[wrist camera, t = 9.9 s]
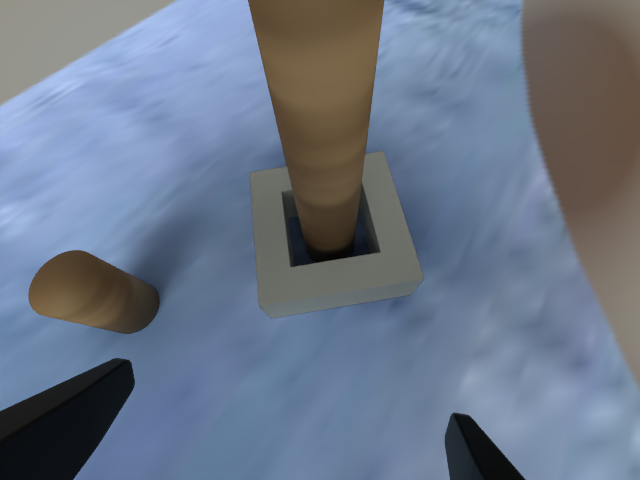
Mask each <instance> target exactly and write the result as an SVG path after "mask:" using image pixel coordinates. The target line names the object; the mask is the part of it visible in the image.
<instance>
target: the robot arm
mask: <svg viewBox="0 0 640 480" xmlns="http://www.w3.org/2000/svg"><path fill="white" fill-rule="evenodd" d="M134 385H135V379H134V374H133V368H132V363H131V362H130V360H126V359H120V358H115V359H112V360H110V361H108V362H106V363H103V364H101V365H99V366H97V367H95V368H93V369H90V370H88V371H86V372H84V373H82V374H80V375H77V376H75V377H73V378H71V379H69V380H67V381H65V382H62V383H60V384H58V385H56V386H54V387H52V388H49V389H47V390H45V391H43V392H41V393H39V394H36V395H34V396H32V397H30V398H28V399H26V400H23V401H21V402H19V403H17V404H15V405H13V406H10V407H8V408H6V409H4V410H2V411H0V480H73V479H74V478H75V476H76V475H77V474H78V472H79V471H80V470H81V468H82V467H83V466H84V464H85V463H86V461H87V460H88V459H89V457H90V456H91V455H92V453H93V452H94V450H95V449H96V448H97V446H98V445H99V443H100V442H101V440H102V439H103V437H104V436H105V434H106V432H107V431H108V429H109V428H110V426H111V424H112V423H113V421H114V420H115V418H116V416H117V415H118V413H119V411H120V410H121V408H122V407H123V405H124V403H125V402H126V400H127V399H128V397H129V395H130V394H131V392H132V390H133V388H134ZM445 448H446V455H447V462H448V468H449V475H450V480H525V478H524V477H523V476H522V475H521V474H520V473H519V472H518V470H517V469H516V468H515V467H514V466H513V465H512V463H511V462H510V461H509V460H508V459H507V458H506V457H505V455H504V454H503V453H502V452H501V451H500V450H499V449H498V447H497V446H496V445H495V444H494V443H493V442H492V441H491V439H490V438H489V437H488V436H487V435H486V434H485V432H484V431H483V430H482V429H481V428H480V427H479V426H478V424H477V423H476V422H475V421H474V420H473V419H472V418H471V417H470V416H469V415H466V414H460V413H452V415H451V416H450V420H449V423H448V427H447V430H446V434H445Z"/></svg>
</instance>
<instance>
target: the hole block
mask: <svg viewBox="0 0 640 480" xmlns="http://www.w3.org/2000/svg"><path fill="white" fill-rule="evenodd" d="M250 185H251V200H252V214H253V229H254V243H255V258H256V272H257V287H258V301H259V307H260V308H261V309H262V310H263V311H264V312H265V313H266V314H267V315H268V316H269V317H270V318H271V319H272V318H278V317H284V316H290V315H296V314H301V313H307V312H313V311H319V310H325V309H331V308H337V307H343V306H349V305H355V304H361V303H367V302H372V301H378V300H384V299H390V298H396V297H402V296H408V295H411V294H412V293H413V292H414V291H415V289H416V288H417V287H418V286H419V285H420V283H421V282H422V281H423V280H424V276H423V273H422V270H421V266H420V263H419V260H418V257H417V254H416V251H415V248H414V245H413V242H412V238H411V235H410V232H409V229H408V226H407V223H406V220H405V217H404V213H403V210H402V207H401V204H400V201H399V198H398V195H397V192H396V188H395V185H394V182H393V179H392V176H391V173H390V170H389V167H388V164H387V160H386V157H385V154H384V151H381V152H374V153H368V154H365V160H364V168H363V176H362V184H361V192H360V200H359V212H360V216H361V220H362V224H363V228H364V232H365V236H366V240H367V244H368V249H369V253H370V254H368V255H362V256H356V257H350V258H344V259H338V260H332V261H326V262H320V263H313V264H307V265H301V266H295V261H294V254H293V246H292V238H291V230H290V223H289V218H290V217H296V216H298V212H297V208H296V203H295V199H294V195H293V191H292V186H291V182H290V178H289V173H288V169H287V166H286V167H280V168H274V169H267V170H261V171H255V172H250Z"/></svg>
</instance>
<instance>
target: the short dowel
mask: <svg viewBox="0 0 640 480" xmlns="http://www.w3.org/2000/svg"><path fill="white" fill-rule="evenodd" d="M29 302H30V305H31V307H32V308H33V310H34V311H35V312H37V313H38V314H40V315H43V316H47V317H52V318H56V319H61V320H65V321H70V322H74V323H78V324H83V325H87V326H92V327H96V328H101V329H105V330H110V331H114V332H119V333H123V334H130V333H135V332H138V331H140V330H142V329H143V328H145V327H146V326H147V325H148V324H149V323H150V322H151V321H152V320H153V319H154V317H155V315H156V313H157V311H158V308H159V295H158V293H157V291H156V289H155V288H154V287H153V286H151V285H149V284H147V283H145V282H144V281H142V280H140V279H138V278H136V277H134V276H132V275H130V274H128V273H126V272H124V271H122V270H120V269H118V268H116V267H115V266H113V265H111V264H109V263H107V262H105V261H103V260H101V259H99V258H97V257H95V256H93V255H91V254H89V253H87V252H85V251H80V250H74V251H68V252H64V253H62V254H59V255H57V256H55V257H54V258H52V259H51V260H49V261H48V262H47V263H45V264H44V265H43V266H42V267H41V268H40V270H39V271H38V272H37V273H36V275H35V277H34V278H33V280H32V282H31V285H30V288H29Z"/></svg>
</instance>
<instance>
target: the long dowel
mask: <svg viewBox="0 0 640 480" xmlns="http://www.w3.org/2000/svg"><path fill="white" fill-rule="evenodd" d="M248 2H249V7H250V11H251V15H252V20H253V24H254V28H255V32H256V37H257V41H258V45H259V49H260V54H261V58H262V62H263V67H264V71H265V75H266V79H267V84H268V88H269V92H270V96H271V101H272V105H273V109H274V114H275V118H276V122H277V126H278V131H279V135H280V139H281V143H282V148H283V152H284V156H285V161H286V165H287V169H288V173H289V178H290V182H291V186H292V191H293V195H294V199H295V203H296V208H297V212H298V216H299V220H300V225H301V229H302V233H303V238H304V242H305V246H306V250H307V253H308V255H309V257H310V258H311V259H312V260H313V261H314V262H316V263H320V262H326V261H332V260H338V259H344V258H349V257H350V256H351V254H352V252H353V249H354V241H355V233H356V224H357V216H358V208H359V200H360V192H361V184H362V176H363V168H364V160H365V152H366V144H367V136H368V128H369V120H370V112H371V103H372V95H373V87H374V79H375V71H376V63H377V55H378V47H379V39H380V31H381V23H382V15H383V7H384V0H248Z"/></svg>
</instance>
